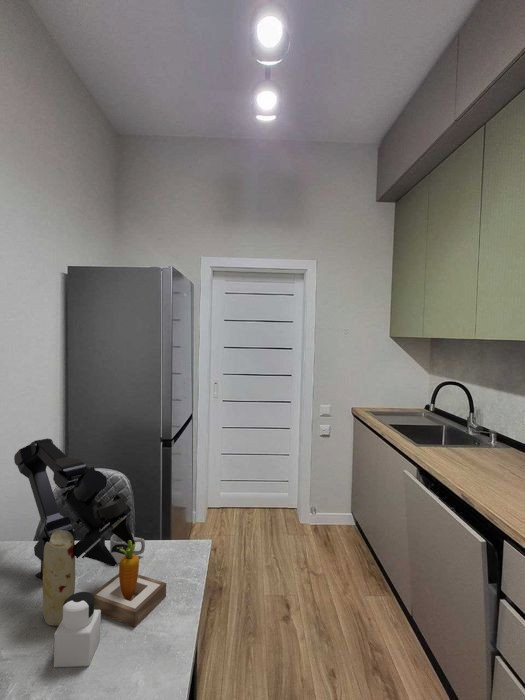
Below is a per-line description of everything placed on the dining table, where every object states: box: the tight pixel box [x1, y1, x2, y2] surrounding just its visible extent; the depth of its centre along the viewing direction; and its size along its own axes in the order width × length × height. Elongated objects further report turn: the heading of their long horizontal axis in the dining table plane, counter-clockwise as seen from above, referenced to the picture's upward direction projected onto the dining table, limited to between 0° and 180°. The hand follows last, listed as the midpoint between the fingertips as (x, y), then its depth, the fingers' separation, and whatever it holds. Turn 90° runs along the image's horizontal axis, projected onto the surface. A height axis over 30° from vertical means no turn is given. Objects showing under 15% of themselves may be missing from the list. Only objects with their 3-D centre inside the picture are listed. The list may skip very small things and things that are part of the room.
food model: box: [42, 530, 76, 627], centre depth 93 cm, size 10×7×20 cm
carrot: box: [118, 540, 140, 601], centre depth 99 cm, size 5×5×15 cm
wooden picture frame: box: [96, 577, 160, 608], centre depth 99 cm, size 12×10×3 cm
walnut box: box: [91, 573, 167, 628], centre depth 99 cm, size 14×12×4 cm
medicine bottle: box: [53, 591, 102, 668], centre depth 83 cm, size 7×7×12 cm
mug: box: [109, 532, 146, 566], centre depth 119 cm, size 10×7×7 cm
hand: (125, 555), depth 99 cm, fingers open, 9 cm apart
